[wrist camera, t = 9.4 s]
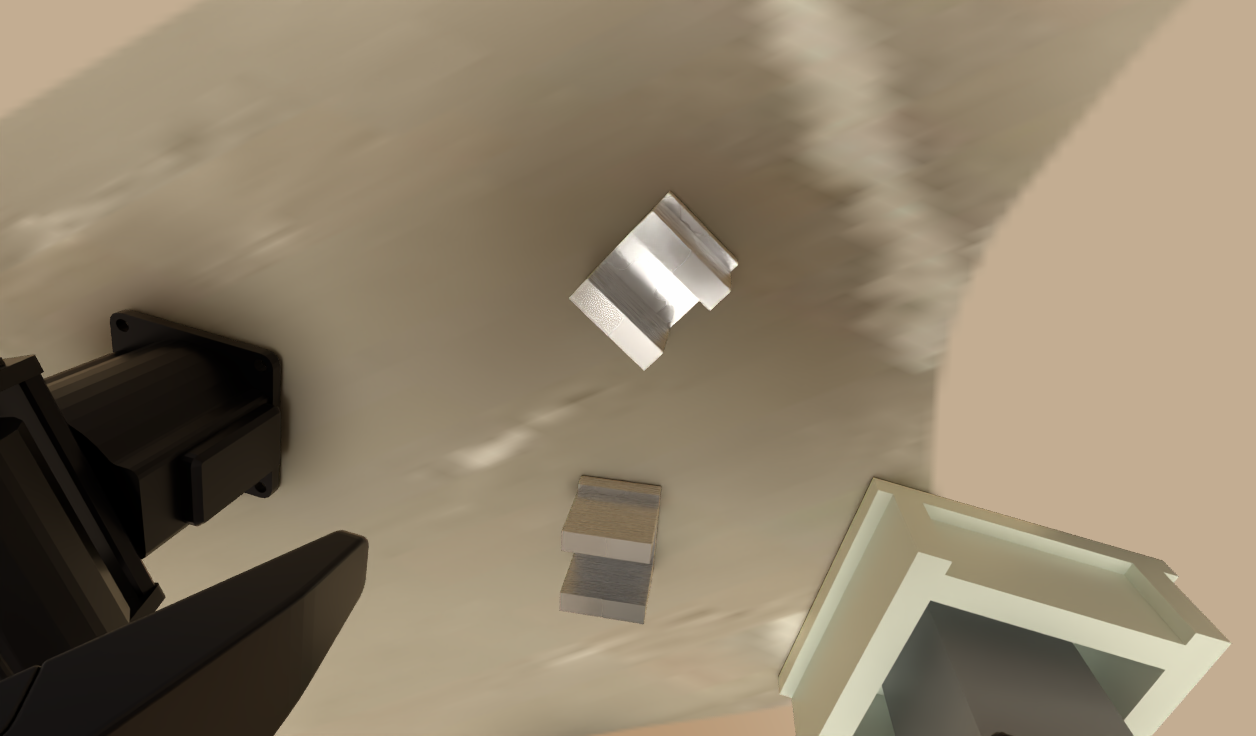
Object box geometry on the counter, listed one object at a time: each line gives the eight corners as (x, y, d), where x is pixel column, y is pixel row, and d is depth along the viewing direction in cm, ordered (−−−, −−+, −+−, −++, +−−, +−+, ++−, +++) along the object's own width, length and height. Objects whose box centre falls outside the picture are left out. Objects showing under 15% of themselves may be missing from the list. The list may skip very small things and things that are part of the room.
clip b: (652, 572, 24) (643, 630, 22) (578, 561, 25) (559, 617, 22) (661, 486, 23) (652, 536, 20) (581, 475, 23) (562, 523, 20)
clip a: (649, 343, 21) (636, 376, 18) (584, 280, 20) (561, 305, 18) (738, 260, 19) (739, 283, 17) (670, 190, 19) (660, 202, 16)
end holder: (778, 677, 25) (785, 766, 22) (873, 477, 21) (901, 546, 18) (1020, 751, 25) (1067, 854, 21) (1162, 560, 21) (1249, 648, 17)
